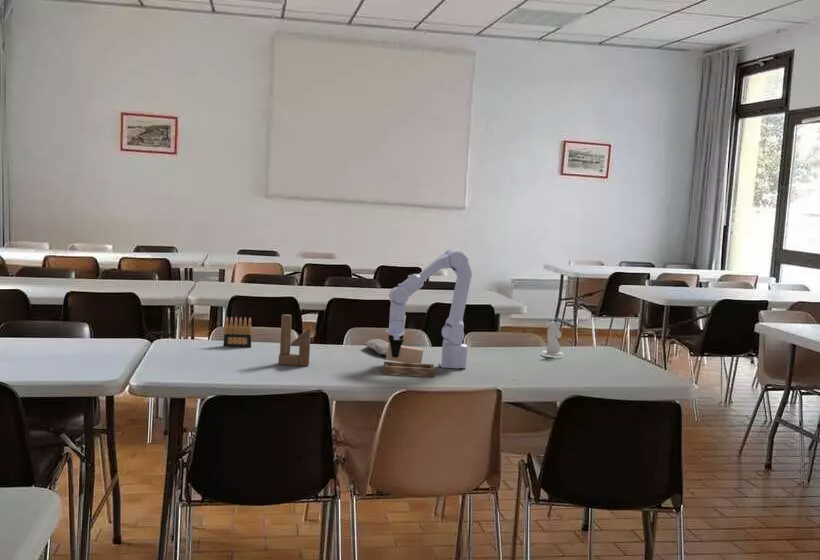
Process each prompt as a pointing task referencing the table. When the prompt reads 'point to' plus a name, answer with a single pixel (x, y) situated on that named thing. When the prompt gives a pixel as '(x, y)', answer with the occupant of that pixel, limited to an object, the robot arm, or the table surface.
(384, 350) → the stone tool
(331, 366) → the table surface
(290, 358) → the tan wooden block stack
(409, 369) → the wooden tray
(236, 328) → the ammunition clip
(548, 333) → the chess piece
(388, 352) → the tan rectangular block
